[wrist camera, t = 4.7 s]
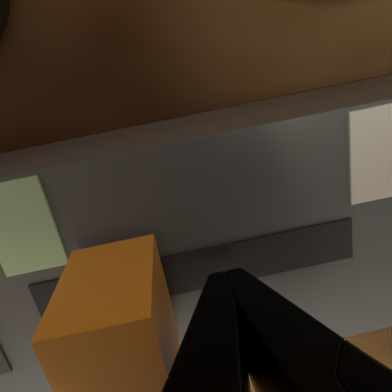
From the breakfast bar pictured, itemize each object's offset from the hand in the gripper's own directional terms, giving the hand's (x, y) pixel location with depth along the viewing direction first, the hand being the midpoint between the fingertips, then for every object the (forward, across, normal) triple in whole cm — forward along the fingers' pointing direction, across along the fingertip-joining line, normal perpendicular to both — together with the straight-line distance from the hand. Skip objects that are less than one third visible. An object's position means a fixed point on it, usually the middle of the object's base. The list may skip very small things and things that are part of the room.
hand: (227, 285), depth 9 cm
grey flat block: (+5, 0, 0) cm, 5 cm away
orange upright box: (+1, +3, 0) cm, 3 cm away
